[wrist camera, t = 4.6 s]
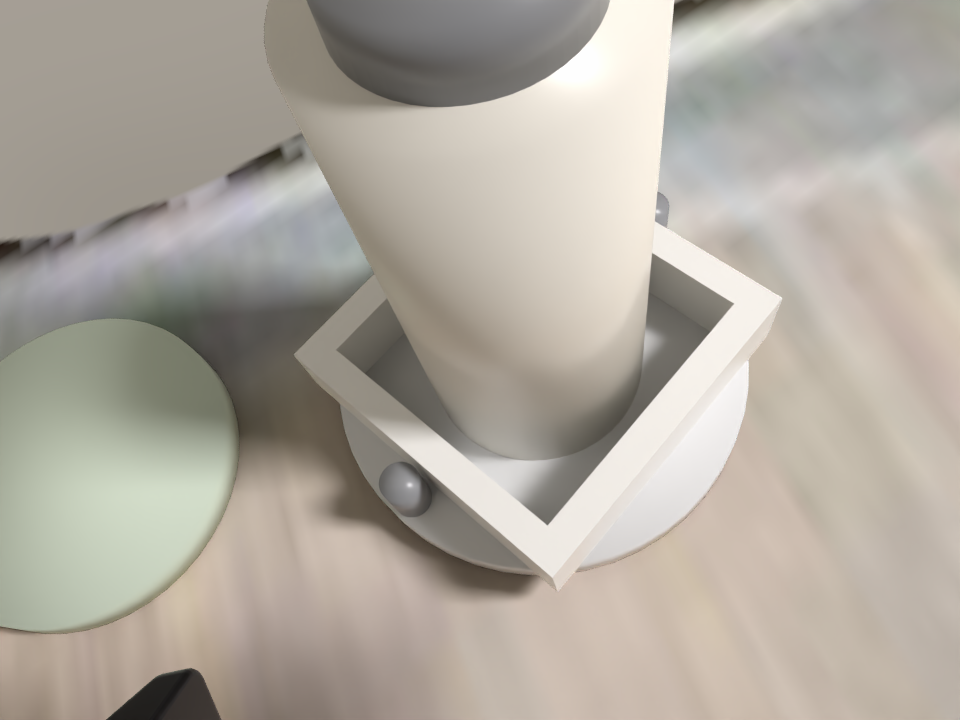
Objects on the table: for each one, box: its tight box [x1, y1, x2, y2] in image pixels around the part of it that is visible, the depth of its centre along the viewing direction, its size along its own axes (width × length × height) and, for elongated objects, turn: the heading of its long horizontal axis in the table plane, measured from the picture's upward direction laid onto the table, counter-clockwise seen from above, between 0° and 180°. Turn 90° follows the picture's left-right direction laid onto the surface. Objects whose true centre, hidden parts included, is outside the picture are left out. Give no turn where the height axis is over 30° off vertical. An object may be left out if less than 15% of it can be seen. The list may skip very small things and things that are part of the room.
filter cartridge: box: [264, 0, 674, 461], centre depth 16 cm, size 6×6×13 cm
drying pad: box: [0, 319, 239, 634], centre depth 23 cm, size 9×9×1 cm
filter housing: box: [294, 192, 782, 592], centre depth 21 cm, size 11×11×3 cm
